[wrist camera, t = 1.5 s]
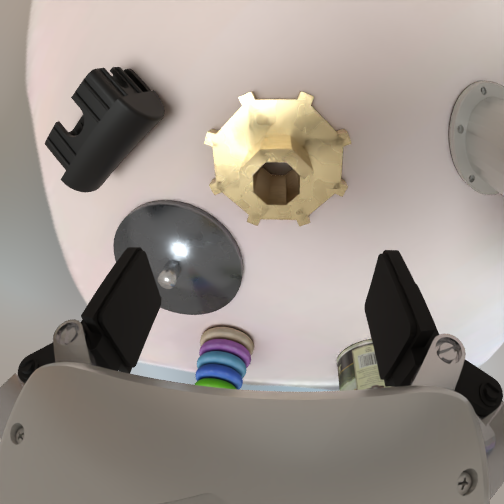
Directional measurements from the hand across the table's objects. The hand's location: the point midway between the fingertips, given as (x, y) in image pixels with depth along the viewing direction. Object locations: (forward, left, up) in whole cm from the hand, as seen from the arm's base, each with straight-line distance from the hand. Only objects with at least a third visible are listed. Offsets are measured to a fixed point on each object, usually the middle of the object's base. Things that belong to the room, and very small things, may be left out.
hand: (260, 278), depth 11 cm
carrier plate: (+12, +12, -16) cm, 23 cm away
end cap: (+15, -5, -16) cm, 23 cm away
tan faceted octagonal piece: (0, 0, -16) cm, 16 cm away
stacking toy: (+7, +27, -16) cm, 32 cm away
